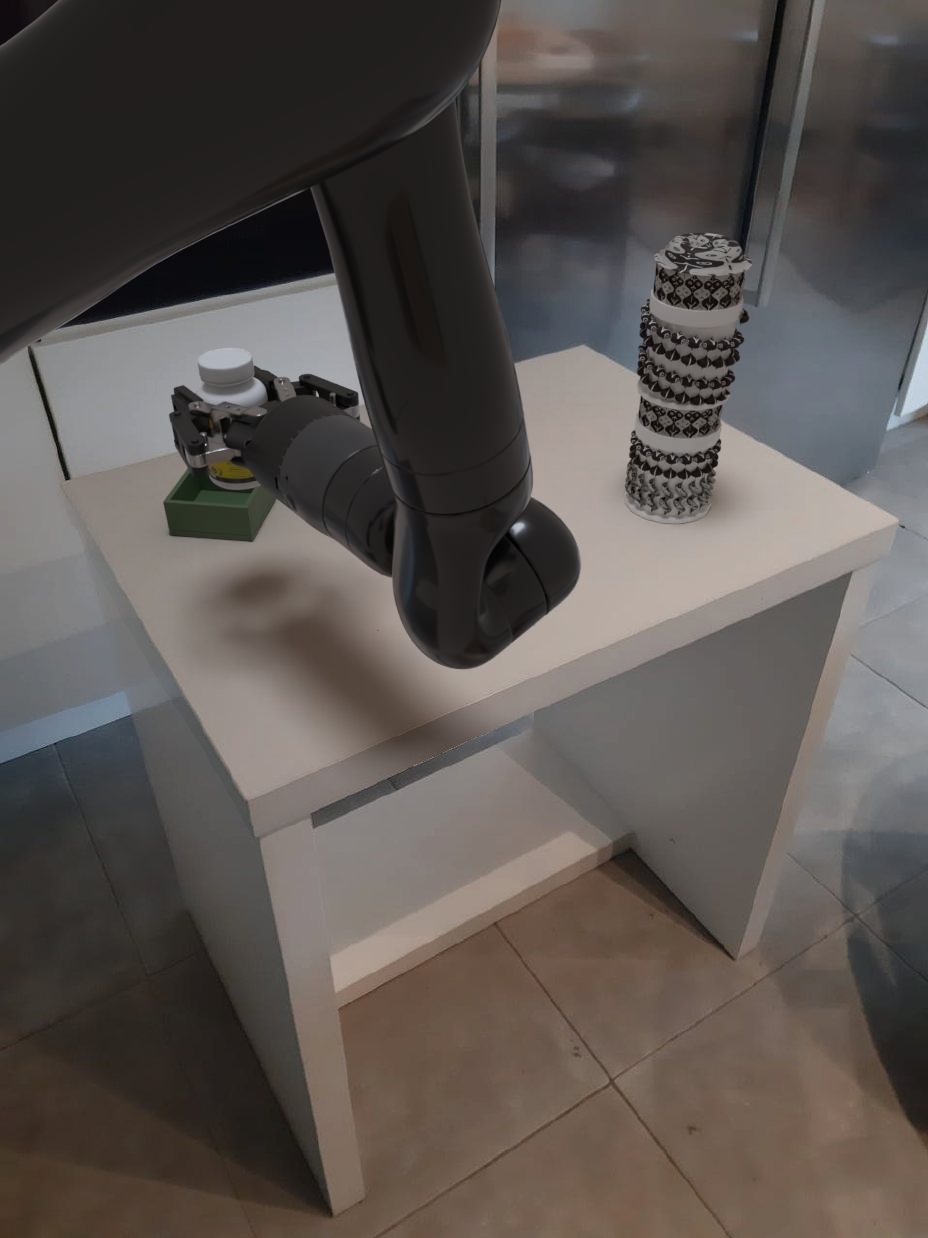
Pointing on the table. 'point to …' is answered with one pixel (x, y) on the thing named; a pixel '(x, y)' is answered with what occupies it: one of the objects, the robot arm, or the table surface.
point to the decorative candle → (685, 376)
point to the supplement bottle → (233, 383)
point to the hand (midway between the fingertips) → (215, 388)
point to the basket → (215, 509)
